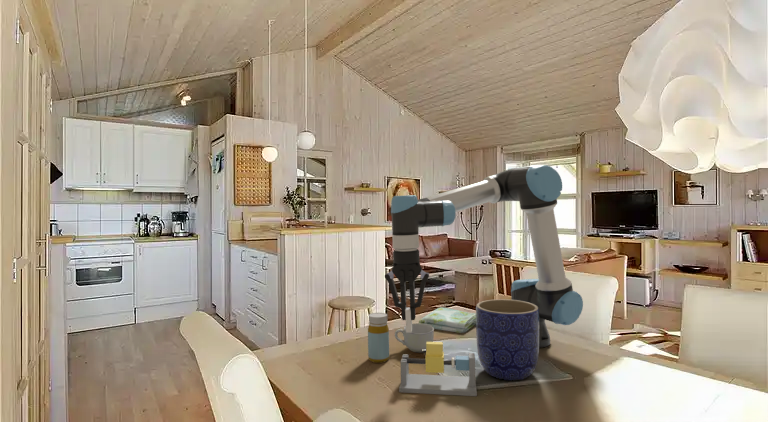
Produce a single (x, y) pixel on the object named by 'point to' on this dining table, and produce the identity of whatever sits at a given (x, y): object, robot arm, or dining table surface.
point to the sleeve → (434, 357)
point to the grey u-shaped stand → (440, 378)
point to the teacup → (416, 336)
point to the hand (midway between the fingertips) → (409, 331)
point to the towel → (450, 320)
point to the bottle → (378, 338)
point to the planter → (507, 338)
